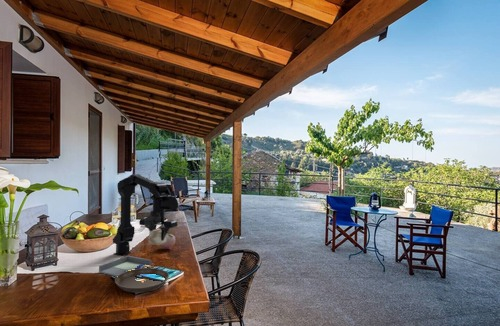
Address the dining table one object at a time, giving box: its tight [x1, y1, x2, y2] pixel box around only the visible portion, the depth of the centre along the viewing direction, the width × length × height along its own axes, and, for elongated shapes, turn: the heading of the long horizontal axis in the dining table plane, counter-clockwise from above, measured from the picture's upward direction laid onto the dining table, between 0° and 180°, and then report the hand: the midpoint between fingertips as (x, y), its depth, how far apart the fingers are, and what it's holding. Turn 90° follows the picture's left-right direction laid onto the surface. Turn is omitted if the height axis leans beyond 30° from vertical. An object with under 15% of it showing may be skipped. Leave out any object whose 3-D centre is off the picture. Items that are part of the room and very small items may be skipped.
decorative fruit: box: [159, 231, 176, 250], centre depth 175 cm, size 9×8×10 cm
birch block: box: [148, 228, 167, 246], centre depth 151 cm, size 5×7×6 cm
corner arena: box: [98, 255, 153, 277], centre depth 141 cm, size 15×17×3 cm
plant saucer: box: [114, 267, 170, 294], centre depth 125 cm, size 21×21×3 cm
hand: (157, 240), depth 151 cm, fingers closed on birch block, 5 cm apart
